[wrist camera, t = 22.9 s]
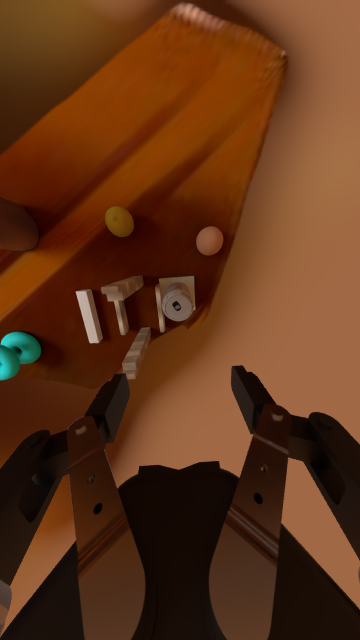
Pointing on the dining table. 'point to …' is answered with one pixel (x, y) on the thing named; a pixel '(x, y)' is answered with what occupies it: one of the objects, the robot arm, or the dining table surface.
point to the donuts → (17, 353)
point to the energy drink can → (178, 302)
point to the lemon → (119, 221)
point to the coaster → (168, 281)
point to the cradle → (118, 294)
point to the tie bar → (89, 315)
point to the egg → (209, 240)
